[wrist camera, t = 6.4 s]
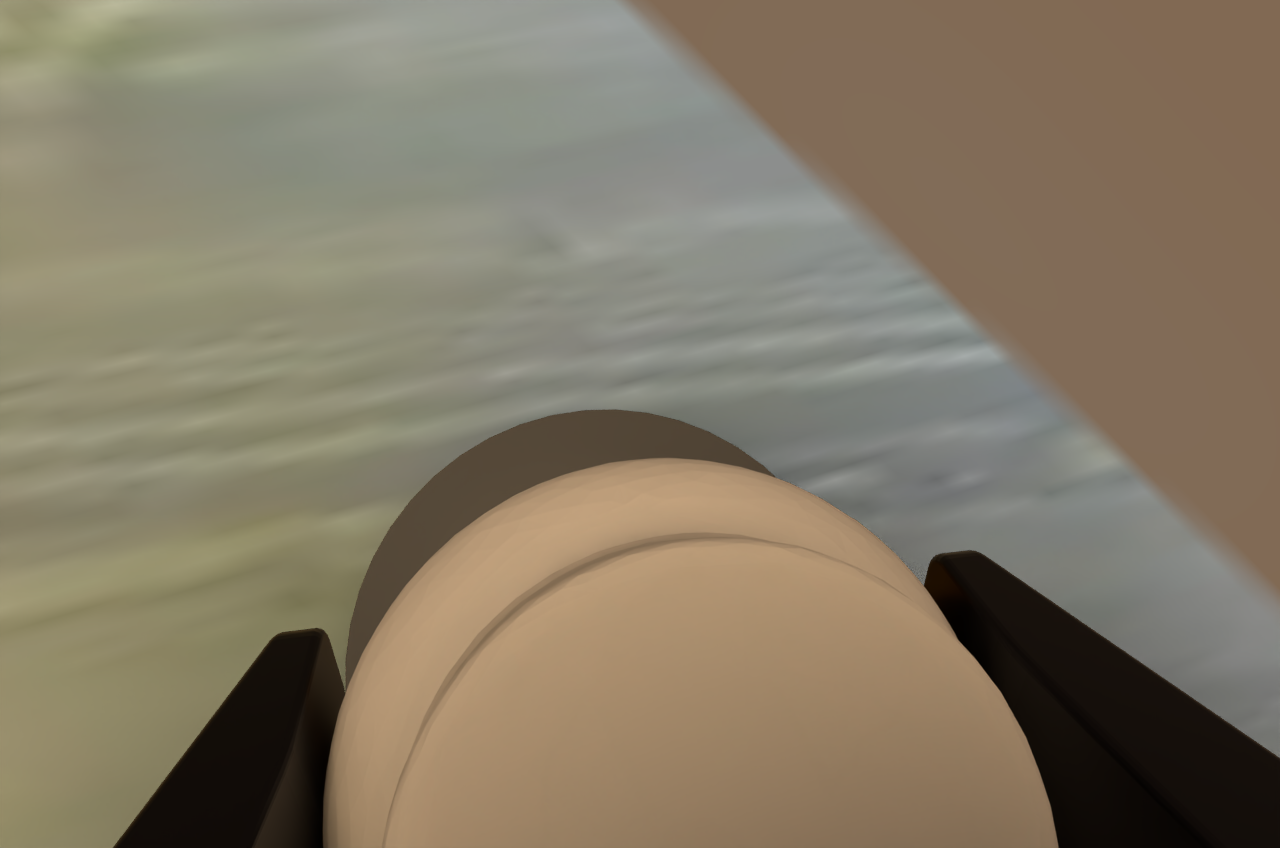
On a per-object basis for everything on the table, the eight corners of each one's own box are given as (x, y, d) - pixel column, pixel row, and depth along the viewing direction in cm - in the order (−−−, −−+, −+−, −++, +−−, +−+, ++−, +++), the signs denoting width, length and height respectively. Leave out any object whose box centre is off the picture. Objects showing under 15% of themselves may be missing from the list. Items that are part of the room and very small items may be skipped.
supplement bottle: (833, 759, 15) (1383, 1099, 5) (528, 938, 14) (498, 1751, 4) (678, 458, 16) (913, 254, 6) (373, 611, 15) (37, 680, 5)
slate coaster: (933, 575, 18) (944, 576, 17) (691, 1026, 16) (696, 1041, 16) (528, 324, 18) (528, 317, 17) (246, 752, 16) (237, 758, 16)
